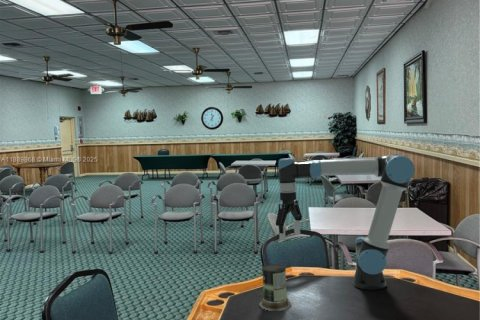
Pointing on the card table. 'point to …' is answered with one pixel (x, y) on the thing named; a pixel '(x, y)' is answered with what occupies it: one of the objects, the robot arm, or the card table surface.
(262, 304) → the brown domed disc
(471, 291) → the card table surface
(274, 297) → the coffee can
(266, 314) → the card table surface
